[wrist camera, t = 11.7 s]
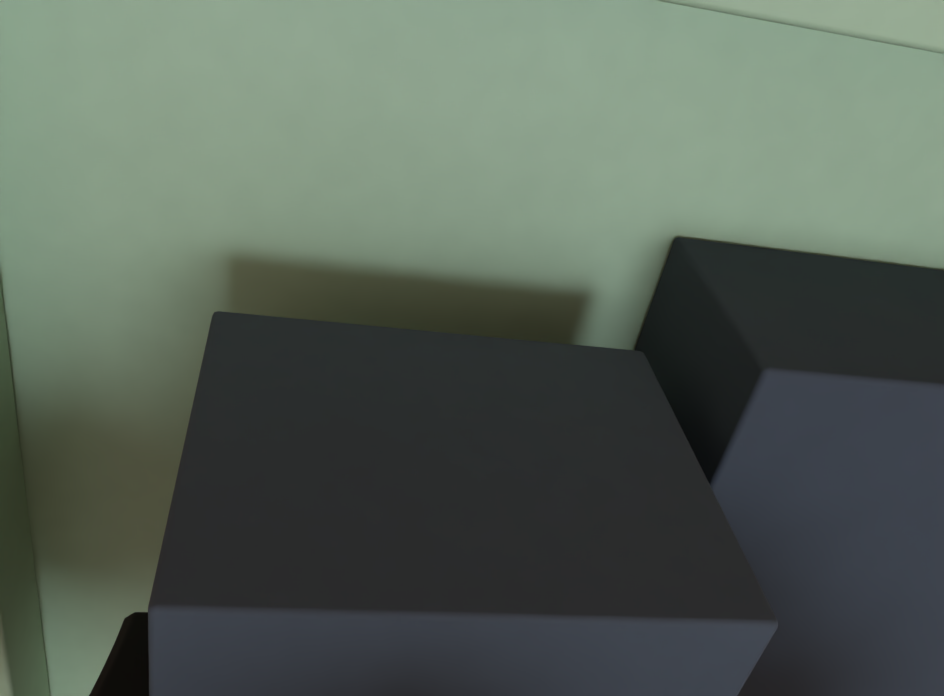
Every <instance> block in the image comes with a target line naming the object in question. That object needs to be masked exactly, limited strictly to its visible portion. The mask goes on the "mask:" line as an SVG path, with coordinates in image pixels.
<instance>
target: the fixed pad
mask: <svg viewBox="0 0 944 696" xmlns="http://www.w3.org/2000/svg"><path fill="white" fill-rule="evenodd" d="M635 350H636V351H641V352H643V353H644V354H645V356H646V358H647V360H648V362H649V364H650V366H651V368H652V370H653V372H654V374H655V376H656V378H657V380H658V382H659V384H660V386H661V388H662V390H663V392H664V394H665V396H666V398H667V400H668V402H669V404H670V406H671V408H672V410H673V412H674V414H675V416H676V418H677V420H678V422H679V424H680V426H681V428H682V430H683V432H684V434H685V436H686V438H687V440H688V442H689V444H690V446H691V448H692V450H693V452H694V454H695V456H696V458H697V460H698V462H699V464H700V466H701V468H702V470H703V472H704V474H705V476H706V478H707V480H708V482H709V484H710V486H711V488H712V490H713V492H714V494H715V496H716V498H717V500H718V502H719V504H720V506H721V508H722V510H723V512H724V514H725V516H726V518H727V520H728V522H729V524H730V526H731V528H732V530H733V532H734V534H735V536H736V538H737V540H738V542H739V544H740V546H741V548H742V550H743V552H744V554H745V556H746V558H747V560H748V562H749V564H750V566H751V568H752V570H753V572H754V574H755V576H756V578H757V580H758V582H759V584H760V586H761V588H762V590H763V592H764V594H765V596H766V598H767V600H768V602H769V604H770V607H771V609H772V611H773V613H774V615H775V617H776V619H777V621H778V628H777V630H776V631H775V633H774V635H773V636H772V638H771V640H770V641H769V643H768V645H767V646H766V648H765V650H764V651H763V653H762V655H761V656H760V658H759V660H758V662H757V663H756V665H755V667H754V668H753V670H752V672H751V673H750V675H749V677H748V678H747V680H746V682H745V683H744V685H743V687H742V688H741V690H740V692H739V693H738V695H737V696H944V270H936V269H928V268H920V267H912V266H904V265H896V264H888V263H880V262H872V261H864V260H856V259H848V258H840V257H832V256H824V255H816V254H808V253H800V252H792V251H784V250H776V249H768V248H760V247H752V246H744V245H736V244H728V243H720V242H712V241H704V240H696V239H688V238H680V237H678V238H675V239H674V241H673V244H672V247H671V249H670V252H669V255H668V258H667V261H666V263H665V266H664V269H663V272H662V275H661V277H660V280H659V283H658V286H657V288H656V291H655V294H654V297H653V300H652V302H651V305H650V308H649V311H648V313H647V316H646V319H645V322H644V325H643V327H642V330H641V333H640V336H639V338H638V341H637V344H636V347H635Z"/></svg>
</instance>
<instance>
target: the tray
mask: <svg viewBox="0 0 944 696" xmlns="http://www.w3.org/2000/svg"><path fill="white" fill-rule="evenodd" d="M678 237H680V238H688V239H696V240H704V241H712V242H720V243H728V244H736V245H744V246H752V247H760V248H768V249H776V250H784V251H792V252H800V253H808V254H816V255H824V256H832V257H840V258H848V259H856V260H864V261H872V262H880V263H888V264H896V265H904V266H912V267H920V268H928V269H936V270H944V0H0V696H89V695H90V693H91V691H92V689H93V687H94V685H95V683H96V681H97V679H98V677H99V675H100V673H101V671H102V669H103V667H104V665H105V663H106V660H107V658H108V656H109V654H110V652H111V650H112V647H113V645H114V643H115V641H116V638H117V636H118V633H119V631H120V628H121V626H122V623H123V621H124V618H126V617H127V616H129V615H131V614H132V613H134V612H148V605H149V601H150V596H151V592H152V587H153V583H154V578H155V574H156V569H157V564H158V560H159V555H160V551H161V546H162V542H163V537H164V533H165V528H166V524H167V519H168V514H169V510H170V505H171V501H172V496H173V492H174V487H175V483H176V478H177V474H178V469H179V464H180V460H181V455H182V451H183V446H184V442H185V437H186V433H187V428H188V424H189V419H190V414H191V410H192V405H193V401H194V396H195V392H196V387H197V383H198V378H199V373H200V369H201V364H202V360H203V355H204V351H205V346H206V342H207V337H208V333H209V328H210V323H211V319H212V315H213V314H214V312H217V311H222V312H232V313H243V314H254V315H264V316H275V317H286V318H296V319H307V320H317V321H328V322H339V323H349V324H360V325H370V326H381V327H392V328H402V329H413V330H423V331H434V332H445V333H455V334H466V335H476V336H487V337H498V338H508V339H519V340H529V341H540V342H551V343H561V344H572V345H583V346H593V347H604V348H614V349H625V350H635V347H636V344H637V341H638V338H639V336H640V333H641V330H642V327H643V325H644V322H645V319H646V316H647V313H648V311H649V308H650V305H651V302H652V300H653V297H654V294H655V291H656V288H657V286H658V283H659V280H660V277H661V275H662V272H663V269H664V266H665V263H666V261H667V258H668V255H669V252H670V249H671V247H672V244H673V241H674V239H675V238H678Z"/></svg>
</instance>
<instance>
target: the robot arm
mask: <svg viewBox="0 0 944 696" xmlns="http://www.w3.org/2000/svg"><path fill="white" fill-rule="evenodd" d="M89 696H149V654H148V612H134V613H132V614H131V615H129V616H127V617H126V618H124V621H123V623H122V626H121V628H120V631H119V633H118V636H117V638H116V641H115V643H114V645H113V647H112V650H111V652H110V654H109V656H108V658H107V660H106V663H105V665H104V667H103V669H102V671H101V673H100V675H99V677H98V679H97V681H96V683H95V685H94V687H93V689H92V691H91V693H90V695H89Z"/></svg>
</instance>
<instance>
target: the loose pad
mask: <svg viewBox="0 0 944 696" xmlns="http://www.w3.org/2000/svg"><path fill="white" fill-rule="evenodd" d="M777 628H778V621H777V619H776V617H775V615H774V613H773V611H772V609H771V607H770V604H769V602H768V600H767V598H766V596H765V594H764V592H763V590H762V588H761V586H760V584H759V582H758V580H757V578H756V576H755V574H754V572H753V570H752V568H751V566H750V564H749V562H748V560H747V558H746V556H745V554H744V552H743V550H742V548H741V546H740V544H739V542H738V540H737V538H736V536H735V534H734V532H733V530H732V528H731V526H730V524H729V522H728V520H727V518H726V516H725V514H724V512H723V510H722V508H721V506H720V504H719V502H718V500H717V498H716V496H715V494H714V492H713V490H712V488H711V486H710V484H709V482H708V480H707V478H706V476H705V474H704V472H703V470H702V468H701V466H700V464H699V462H698V460H697V458H696V456H695V454H694V452H693V450H692V448H691V446H690V444H689V442H688V440H687V438H686V436H685V434H684V432H683V430H682V428H681V426H680V424H679V422H678V420H677V418H676V416H675V414H674V412H673V410H672V408H671V406H670V404H669V402H668V400H667V398H666V396H665V394H664V392H663V390H662V388H661V386H660V384H659V382H658V380H657V378H656V376H655V374H654V372H653V370H652V368H651V366H650V364H649V362H648V360H647V358H646V356H645V354H644V353H643V352H641V351H636V350H625V349H614V348H604V347H593V346H583V345H572V344H561V343H551V342H540V341H529V340H519V339H508V338H498V337H487V336H476V335H466V334H455V333H445V332H434V331H423V330H413V329H402V328H392V327H381V326H370V325H360V324H349V323H339V322H328V321H317V320H307V319H296V318H286V317H275V316H264V315H254V314H243V313H232V312H222V311H217V312H214V314H213V315H212V319H211V323H210V328H209V333H208V337H207V342H206V346H205V351H204V355H203V360H202V364H201V369H200V373H199V378H198V383H197V387H196V392H195V396H194V401H193V405H192V410H191V414H190V419H189V424H188V428H187V433H186V437H185V442H184V446H183V451H182V455H181V460H180V464H179V469H178V474H177V478H176V483H175V487H174V492H173V496H172V501H171V505H170V510H169V514H168V519H167V524H166V528H165V533H164V537H163V542H162V546H161V551H160V555H159V560H158V564H157V569H156V574H155V578H154V583H153V587H152V592H151V596H150V601H149V605H148V654H149V696H737V695H738V693H739V692H740V690H741V688H742V687H743V685H744V683H745V682H746V680H747V678H748V677H749V675H750V673H751V672H752V670H753V668H754V667H755V665H756V663H757V662H758V660H759V658H760V656H761V655H762V653H763V651H764V650H765V648H766V646H767V645H768V643H769V641H770V640H771V638H772V636H773V635H774V633H775V631H776V630H777Z"/></svg>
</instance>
